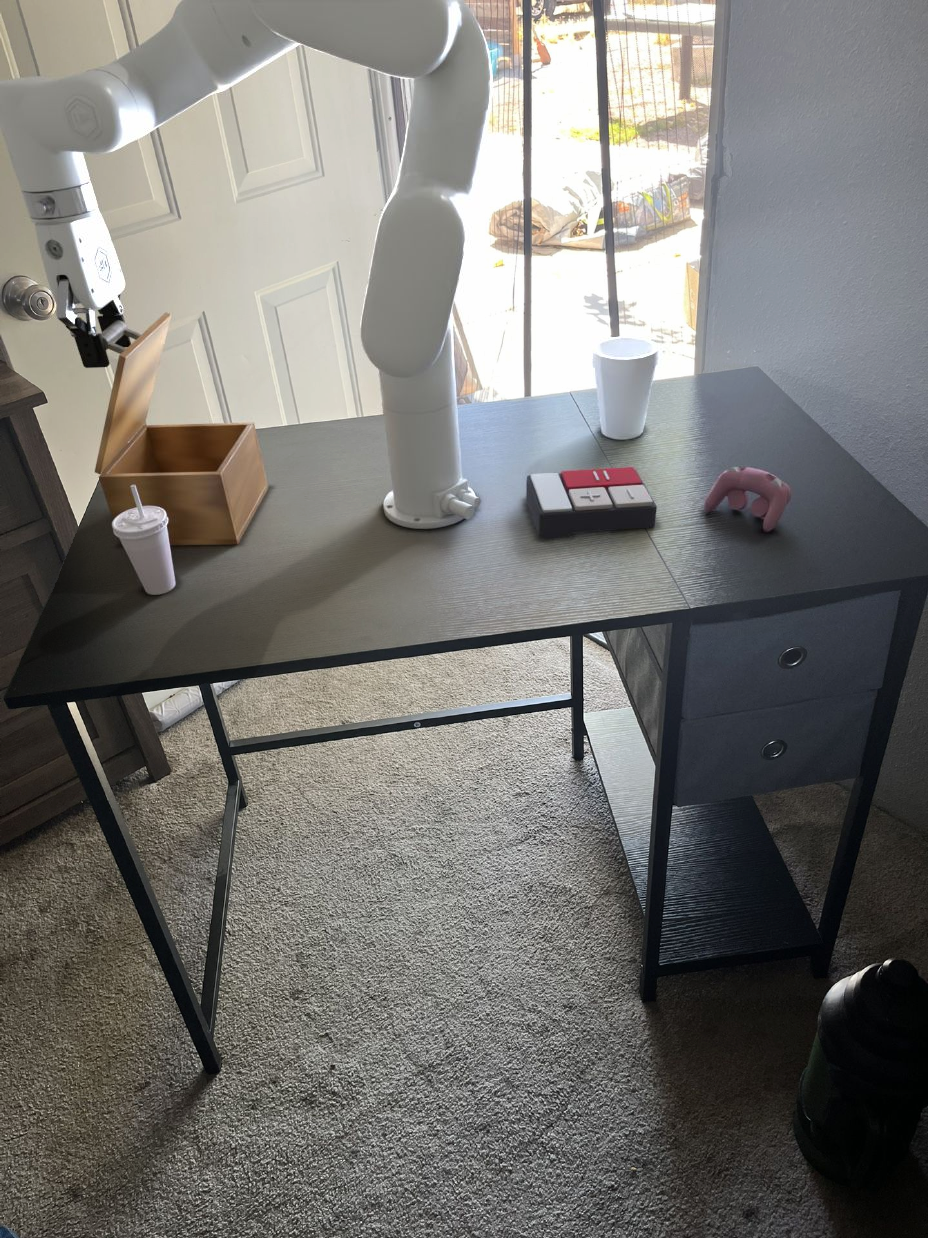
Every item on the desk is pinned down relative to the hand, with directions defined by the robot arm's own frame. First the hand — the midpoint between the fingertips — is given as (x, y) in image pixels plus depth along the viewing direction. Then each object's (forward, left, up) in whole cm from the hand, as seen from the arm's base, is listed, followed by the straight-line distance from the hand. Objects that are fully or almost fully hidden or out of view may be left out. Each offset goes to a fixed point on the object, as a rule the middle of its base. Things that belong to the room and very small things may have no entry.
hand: (108, 355), depth 115 cm
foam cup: (-35, -61, -23) cm, 74 cm away
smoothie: (-17, +9, -23) cm, 30 cm away
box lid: (-2, -1, -5) cm, 6 cm away
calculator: (-47, -38, -23) cm, 64 cm away
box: (-5, -4, -23) cm, 24 cm away
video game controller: (-63, -50, -23) cm, 83 cm away
